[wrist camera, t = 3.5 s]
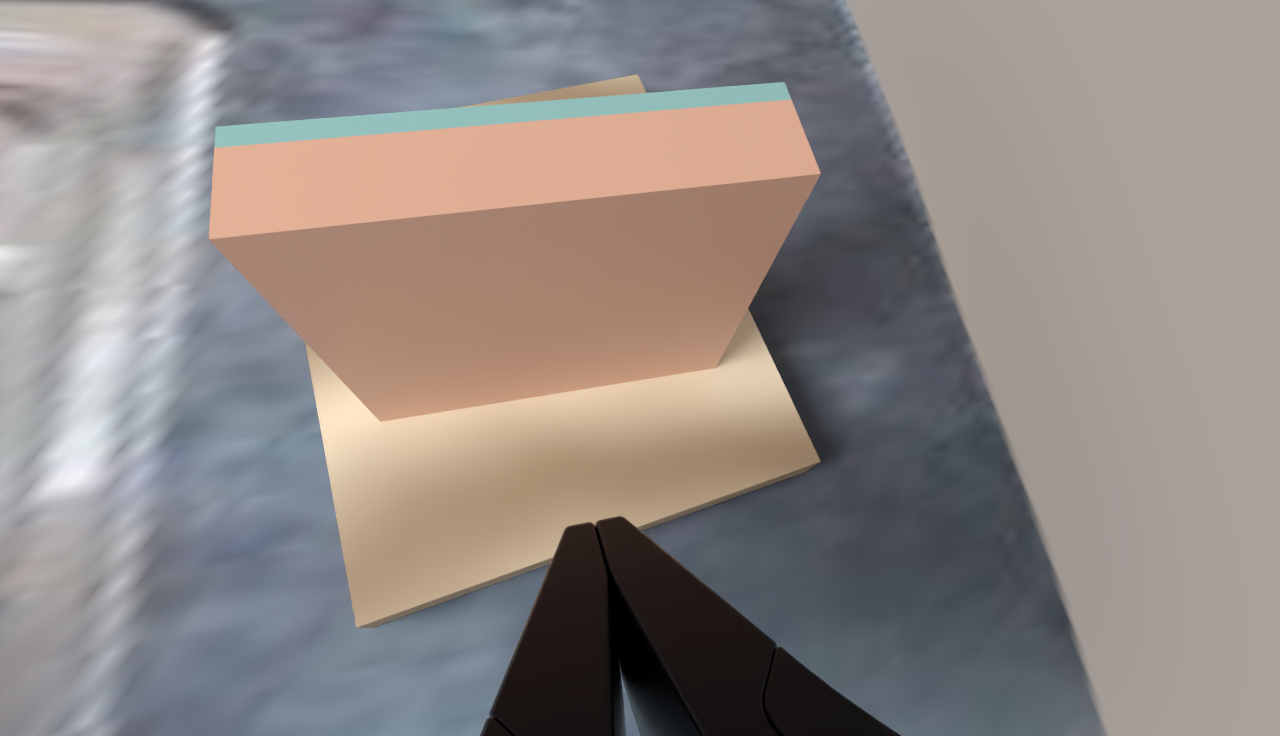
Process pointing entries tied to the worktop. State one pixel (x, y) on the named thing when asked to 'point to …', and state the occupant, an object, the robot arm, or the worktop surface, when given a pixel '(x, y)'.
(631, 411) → the beech board
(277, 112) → the worktop surface
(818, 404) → the worktop surface
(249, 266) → the terracotta tile
